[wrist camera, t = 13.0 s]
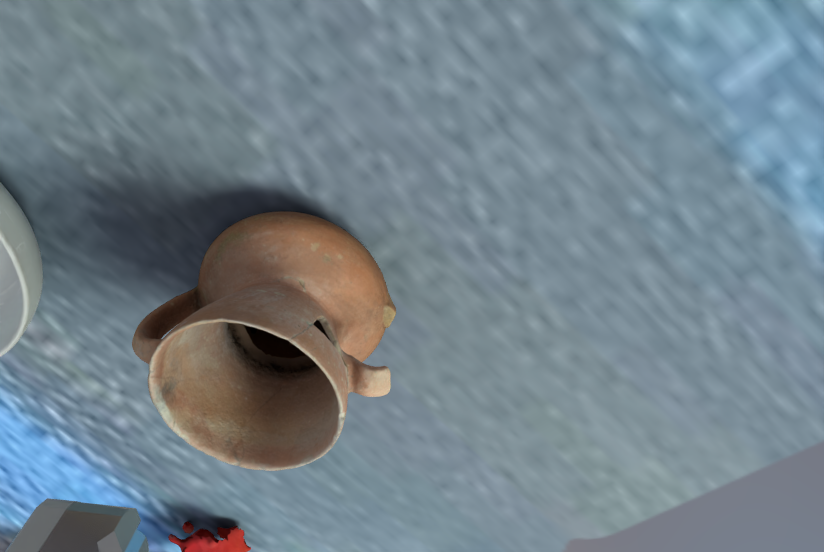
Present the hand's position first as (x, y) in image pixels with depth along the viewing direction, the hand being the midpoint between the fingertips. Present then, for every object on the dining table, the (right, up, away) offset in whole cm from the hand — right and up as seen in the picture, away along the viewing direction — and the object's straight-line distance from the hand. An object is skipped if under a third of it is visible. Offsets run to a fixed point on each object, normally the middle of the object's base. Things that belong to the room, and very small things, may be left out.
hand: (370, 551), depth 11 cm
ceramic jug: (-9, +5, +39) cm, 40 cm away
